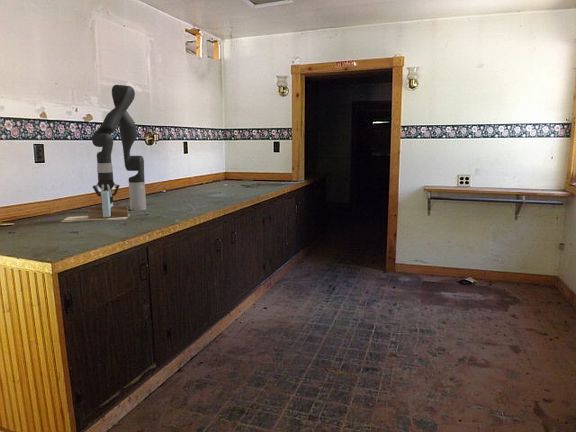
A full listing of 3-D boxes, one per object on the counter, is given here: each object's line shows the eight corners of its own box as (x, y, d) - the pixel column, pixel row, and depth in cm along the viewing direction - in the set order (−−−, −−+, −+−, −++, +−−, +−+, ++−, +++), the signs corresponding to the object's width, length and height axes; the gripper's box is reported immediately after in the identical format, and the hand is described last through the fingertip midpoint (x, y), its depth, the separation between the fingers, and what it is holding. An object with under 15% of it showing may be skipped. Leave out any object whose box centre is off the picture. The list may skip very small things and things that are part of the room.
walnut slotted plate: (89, 217, 232) (88, 206, 231) (128, 216, 236) (127, 205, 235) (88, 218, 230) (87, 207, 229) (127, 216, 234) (127, 206, 233)
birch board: (68, 218, 236) (68, 216, 236) (130, 215, 243) (130, 214, 243) (60, 223, 221) (60, 221, 220) (126, 220, 228) (126, 219, 227)
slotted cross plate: (107, 212, 239) (106, 189, 237) (113, 212, 240) (111, 189, 237) (103, 217, 226) (101, 192, 223) (109, 216, 226) (107, 192, 224)
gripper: (120, 170, 234) (122, 202, 237) (92, 171, 231) (95, 203, 234) (118, 171, 227) (120, 204, 230) (89, 172, 223) (92, 205, 226)
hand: (107, 203), depth 232 cm, fingers closed on slotted cross plate, 3 cm apart
